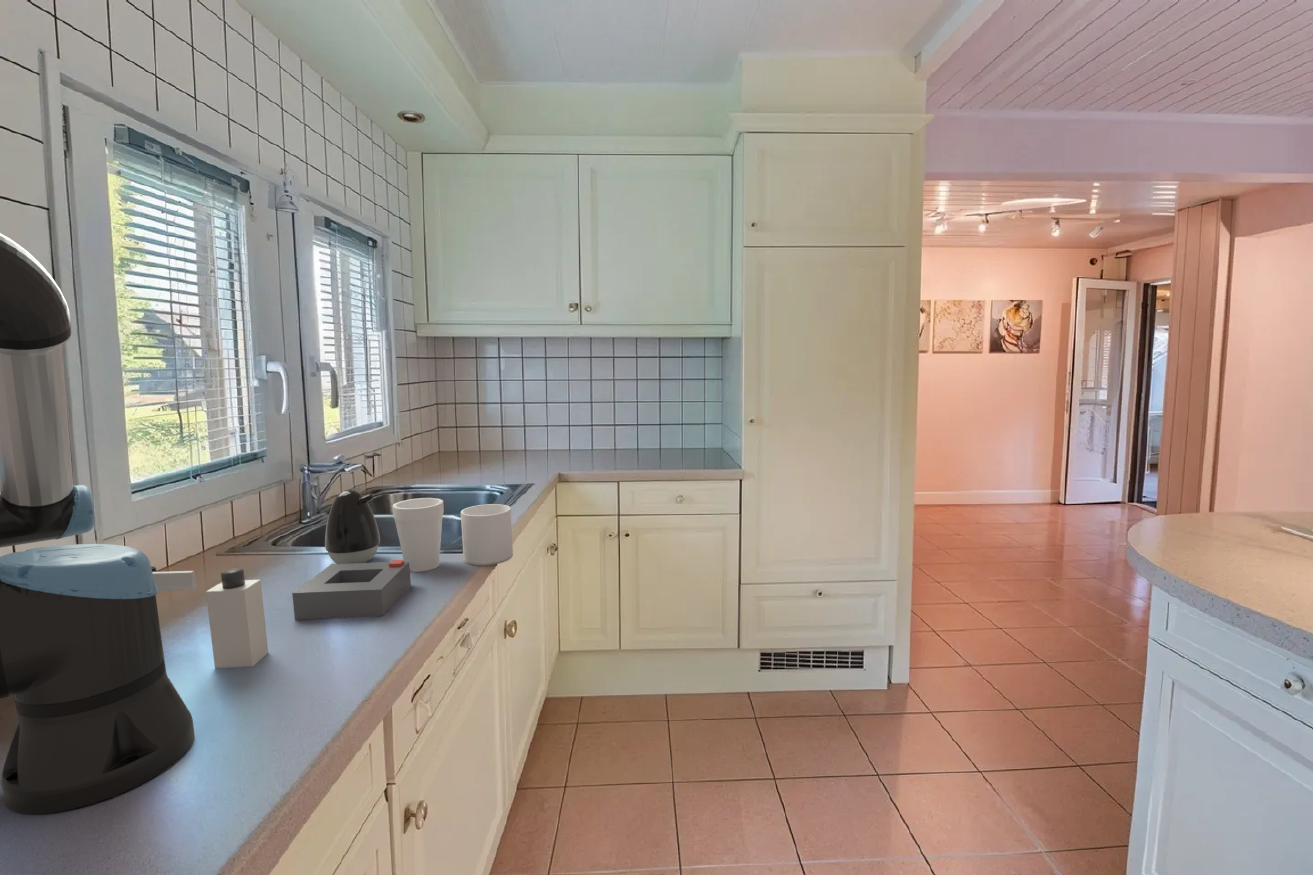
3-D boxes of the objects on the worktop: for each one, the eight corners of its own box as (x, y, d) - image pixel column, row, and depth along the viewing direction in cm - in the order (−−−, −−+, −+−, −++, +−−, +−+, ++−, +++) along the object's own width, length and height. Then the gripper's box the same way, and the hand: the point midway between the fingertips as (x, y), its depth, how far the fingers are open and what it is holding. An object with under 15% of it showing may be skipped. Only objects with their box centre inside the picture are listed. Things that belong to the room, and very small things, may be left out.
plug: (252, 666, 87) (242, 575, 85) (215, 668, 87) (204, 577, 85) (268, 652, 91) (259, 565, 89) (232, 654, 91) (222, 567, 89)
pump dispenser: (361, 571, 125) (355, 496, 123) (315, 569, 127) (308, 495, 125) (392, 555, 135) (387, 485, 133) (349, 553, 137) (343, 484, 135)
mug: (509, 564, 128) (507, 514, 126) (459, 567, 127) (455, 517, 125) (517, 545, 140) (515, 500, 139) (471, 548, 139) (468, 502, 138)
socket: (383, 615, 103) (380, 585, 103) (294, 619, 103) (291, 589, 102) (410, 584, 117) (408, 558, 117) (333, 587, 116) (330, 561, 116)
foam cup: (401, 561, 131) (396, 499, 129) (448, 556, 133) (444, 496, 131) (394, 576, 122) (389, 510, 120) (445, 571, 124) (441, 506, 122)
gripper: (78, 594, 99) (219, 589, 100) (-99, 676, 74) (91, 669, 76) (72, 547, 98) (214, 544, 99) (-111, 615, 73) (82, 609, 75)
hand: (161, 598), depth 88 cm, fingers open, 13 cm apart
